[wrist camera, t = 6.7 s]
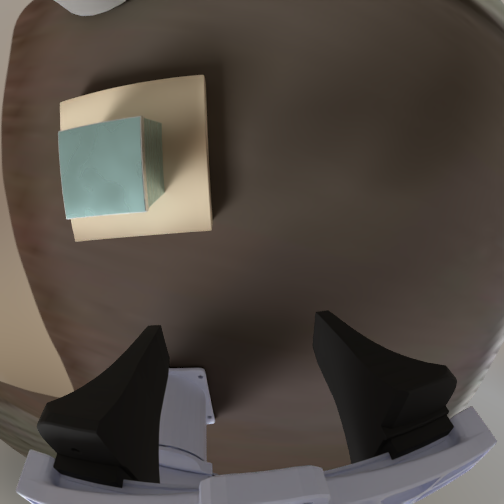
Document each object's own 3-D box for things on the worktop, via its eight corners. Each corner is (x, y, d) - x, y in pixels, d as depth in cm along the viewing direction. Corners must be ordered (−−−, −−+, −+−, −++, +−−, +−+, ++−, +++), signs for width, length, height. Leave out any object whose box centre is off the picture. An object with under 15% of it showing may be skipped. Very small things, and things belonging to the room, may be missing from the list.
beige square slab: (212, 218, 21) (211, 230, 18) (91, 228, 20) (75, 241, 18) (206, 83, 17) (203, 74, 15) (78, 105, 17) (60, 102, 14)
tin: (165, 193, 17) (146, 212, 13) (101, 198, 17) (66, 219, 12) (162, 122, 16) (140, 115, 11) (96, 131, 15) (57, 131, 11)
